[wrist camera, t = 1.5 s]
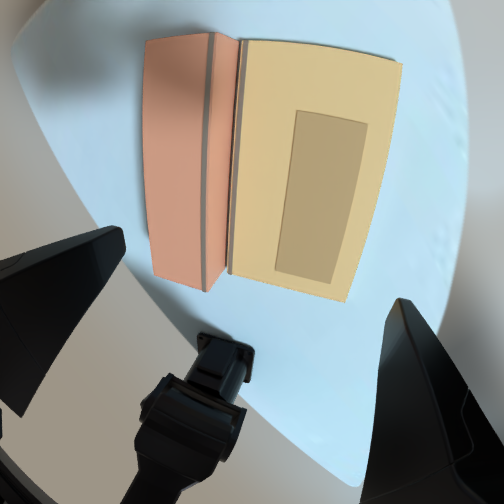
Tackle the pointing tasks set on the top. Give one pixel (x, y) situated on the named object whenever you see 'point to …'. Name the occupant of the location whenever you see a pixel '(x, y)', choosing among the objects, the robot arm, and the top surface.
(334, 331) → the top surface
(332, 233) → the tan rectangular slab
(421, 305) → the top surface
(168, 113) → the pink long block
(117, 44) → the top surface
